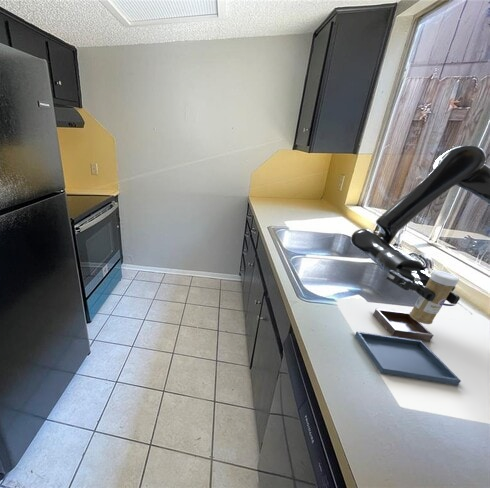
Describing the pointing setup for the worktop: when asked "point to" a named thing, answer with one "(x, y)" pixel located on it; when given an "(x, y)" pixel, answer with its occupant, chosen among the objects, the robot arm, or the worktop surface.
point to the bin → (402, 325)
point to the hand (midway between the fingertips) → (444, 299)
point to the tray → (405, 358)
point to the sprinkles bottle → (441, 287)
